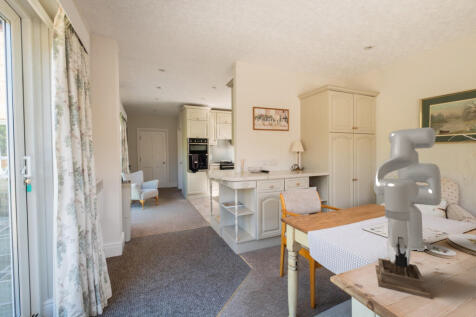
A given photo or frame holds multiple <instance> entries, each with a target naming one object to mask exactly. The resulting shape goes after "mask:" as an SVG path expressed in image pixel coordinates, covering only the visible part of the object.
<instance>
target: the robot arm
mask: <svg viewBox="0 0 476 317" xmlns="http://www.w3.org/2000/svg"><path fill="white" fill-rule="evenodd" d="M388 140H389V143H390V150H389V157H388V159H386V160H385V161H384V162H382V163H381V164H379V166H378V168H377V169H376V171H375V174H374V179H373V180H374V181H373V191H374V193H375V194H376V195H377V196H379V197H384V198H383V199H384V218H386V219H387V237H388V236H389V242H390V246H391V247H395V248H396V254H395V262H396V266H399V267H404V268H407V255H406V249H408V238H409V239H410V247H411V251H413V250H417V251H416V252H425V251H426V250H425V248H424V247H425V246H427V245H426V244H425V243H424V240H423V238H424V237H423V215H422V214H423V213H422V211H421V209H420V208H418V207H417V205H422V206H423V205H424V206H433V207H435V206H439V205H441V204H442V203H441V202H442V179H441V170H440V167H439V166H438V165H437V164H436V163H435V164H434V163H428V162H425V163H424V162H423V163H420V162H419V152H418V151H417V150H416V149H419V150H420V149H431V148H433V147H434V146H435V143H436V132H435V129H434V128H432V127H429V126H428V127H419V128H407V129H406V128H405V129H399V130H398V129H397V130H394V131H391V132H390V133H389V134H388ZM395 171H397V177H398V178H385V177H386V176H387V175H388V174H390V173H392V172H395ZM418 183H422V184H418ZM423 183H425V184H427V185H424V184H423ZM397 245H399V246H397ZM398 249H400V250H399V251H398ZM424 250H425V251H424Z"/></svg>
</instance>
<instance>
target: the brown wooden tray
mask: <svg viewBox="0 0 476 317" xmlns="http://www.w3.org/2000/svg"><path fill="white" fill-rule="evenodd" d="M377 259H378V261H377V262H378V264H375V272H376V278H377V283H378V287H380V288H383V289H388V290H392V291H396V292H401V293H404V294H409V295H411V296H412V295H413V296H418V297H422V298H424V299H428V300H429V299H430V300H431V299H432V298H431V293H430V291H429V290H428V287H427V285H426V280H425V279H424V277H423V275H422V274H421V272H420V270H419V269H420V268H418V266H417V265H416V264H413V263H409V269H408V271H409V277H406V276H401V275H396V274H391V273H390V260H389V259H385V258H381V257H380V258H379V257H378V258H377Z"/></svg>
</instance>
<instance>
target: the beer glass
mask: <svg viewBox="0 0 476 317" xmlns="http://www.w3.org/2000/svg"><path fill="white" fill-rule="evenodd" d="M386 239H387V240H386V247H387V248H386V251H387V255H388V260H390V273H391V274H396V275H401V276H406V277H409V271H408V269H409V264H411V263H410V262H411V257H412V250H411V247H410V239H409V238H408V249H406V255H407V268H404V267H399V266H396V262H395V254H396V248H395V247H391V246H390V242H389V236H388V235H387V238H386ZM397 246H399V245H397ZM399 250H400V249H398V251H399Z"/></svg>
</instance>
